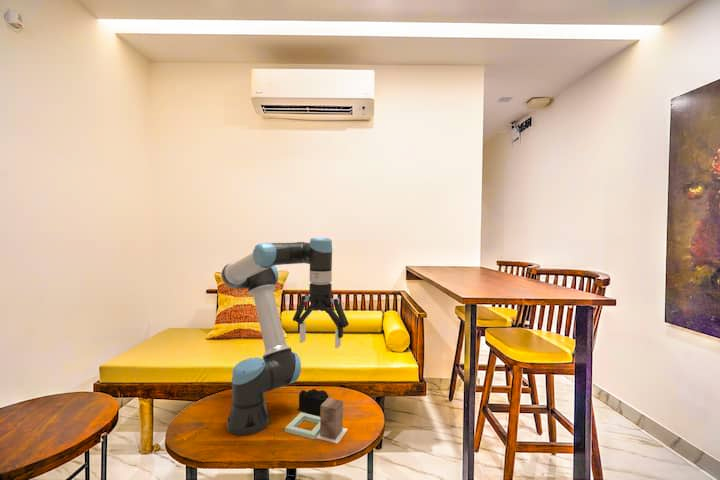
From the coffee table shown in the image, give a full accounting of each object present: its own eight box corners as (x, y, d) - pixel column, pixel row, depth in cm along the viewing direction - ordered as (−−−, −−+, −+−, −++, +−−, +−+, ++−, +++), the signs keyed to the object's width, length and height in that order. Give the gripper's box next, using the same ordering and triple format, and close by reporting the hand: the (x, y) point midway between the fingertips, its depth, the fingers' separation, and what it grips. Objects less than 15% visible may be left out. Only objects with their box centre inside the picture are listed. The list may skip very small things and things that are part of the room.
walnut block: (320, 435, 120) (320, 405, 119) (327, 426, 125) (328, 397, 125) (335, 439, 117) (335, 408, 117) (342, 430, 123) (342, 400, 123)
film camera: (338, 410, 138) (339, 388, 138) (323, 421, 130) (323, 398, 129) (311, 399, 146) (311, 379, 146) (295, 409, 138) (295, 387, 138)
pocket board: (285, 432, 122) (285, 427, 122) (301, 417, 132) (301, 412, 132) (314, 440, 118) (314, 435, 118) (328, 424, 128) (328, 418, 128)
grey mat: (314, 438, 119) (314, 437, 119) (326, 425, 127) (326, 423, 127) (337, 445, 115) (337, 443, 115) (347, 430, 124) (347, 429, 124)
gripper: (283, 281, 115) (282, 342, 116) (350, 287, 107) (349, 353, 107) (295, 278, 123) (294, 336, 123) (358, 283, 114) (357, 345, 114)
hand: (319, 344), depth 115 cm, fingers open, 13 cm apart
